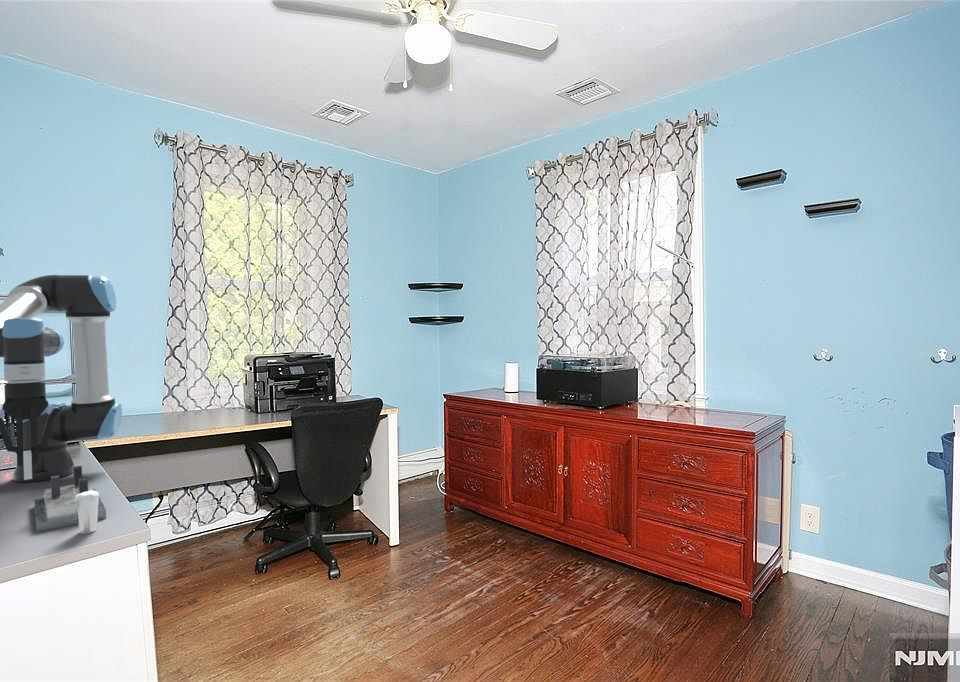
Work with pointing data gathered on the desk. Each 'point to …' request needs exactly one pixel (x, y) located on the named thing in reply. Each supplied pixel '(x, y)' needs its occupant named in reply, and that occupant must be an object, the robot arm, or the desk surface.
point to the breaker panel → (61, 520)
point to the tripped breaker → (55, 486)
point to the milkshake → (86, 511)
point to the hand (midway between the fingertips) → (28, 478)
